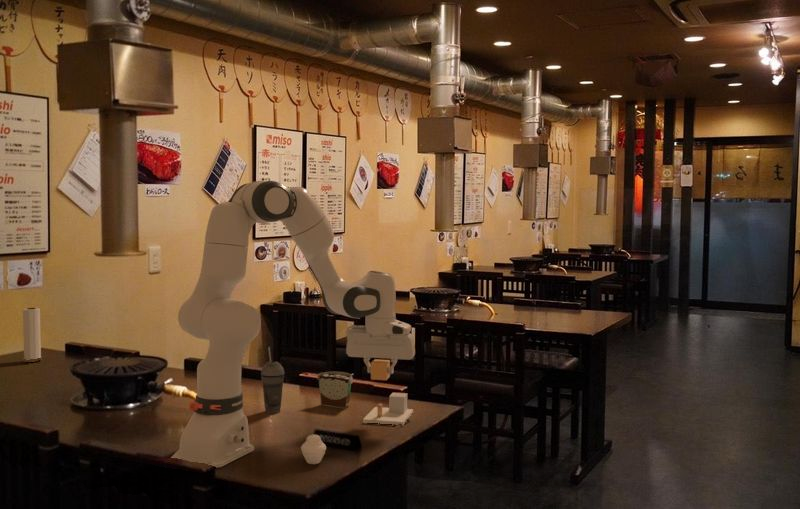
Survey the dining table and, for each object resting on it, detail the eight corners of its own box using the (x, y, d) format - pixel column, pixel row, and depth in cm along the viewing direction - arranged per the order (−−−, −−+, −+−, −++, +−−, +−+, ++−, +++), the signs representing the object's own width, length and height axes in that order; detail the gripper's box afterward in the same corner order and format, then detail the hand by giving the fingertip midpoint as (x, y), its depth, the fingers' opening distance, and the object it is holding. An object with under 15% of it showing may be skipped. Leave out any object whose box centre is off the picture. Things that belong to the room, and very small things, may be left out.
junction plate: (403, 426, 217) (403, 404, 217) (363, 423, 220) (363, 402, 219) (413, 413, 231) (413, 393, 230) (375, 410, 233) (375, 390, 233)
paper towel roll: (32, 359, 304) (31, 307, 303) (44, 360, 302) (43, 307, 301) (18, 363, 297) (16, 309, 296) (30, 364, 296) (29, 310, 294)
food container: (360, 404, 240) (360, 373, 239) (350, 409, 234) (350, 377, 234) (327, 400, 245) (327, 369, 245) (317, 404, 240) (317, 373, 239)
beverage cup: (279, 415, 227) (279, 349, 225) (256, 414, 228) (256, 348, 227) (288, 409, 234) (288, 345, 232) (266, 407, 235) (265, 344, 234)
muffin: (327, 458, 189) (327, 430, 189) (324, 466, 183) (324, 438, 182) (303, 457, 189) (303, 430, 189) (298, 466, 183) (298, 437, 183)
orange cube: (389, 376, 224) (389, 360, 223) (386, 380, 219) (386, 363, 219) (374, 375, 225) (374, 359, 224) (370, 379, 220) (370, 362, 220)
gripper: (343, 326, 220) (343, 373, 221) (412, 329, 216) (411, 377, 217) (349, 323, 226) (349, 368, 227) (416, 325, 222) (416, 372, 223)
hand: (380, 372), depth 222 cm, fingers closed on orange cube, 5 cm apart
